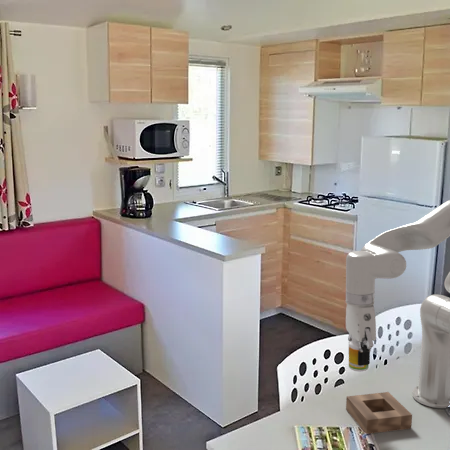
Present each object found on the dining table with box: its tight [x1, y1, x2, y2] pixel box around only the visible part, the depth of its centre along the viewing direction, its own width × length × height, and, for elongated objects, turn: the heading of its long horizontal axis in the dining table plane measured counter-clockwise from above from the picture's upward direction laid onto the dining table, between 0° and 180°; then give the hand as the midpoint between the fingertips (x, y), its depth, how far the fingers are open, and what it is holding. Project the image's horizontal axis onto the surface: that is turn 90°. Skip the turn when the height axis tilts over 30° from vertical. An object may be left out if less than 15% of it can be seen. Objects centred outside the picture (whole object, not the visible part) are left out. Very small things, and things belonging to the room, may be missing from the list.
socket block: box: [345, 391, 413, 435], centre depth 154 cm, size 13×13×4 cm
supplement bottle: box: [348, 336, 370, 372], centre depth 153 cm, size 5×5×10 cm
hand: (358, 359), depth 153 cm, fingers closed on supplement bottle, 5 cm apart
